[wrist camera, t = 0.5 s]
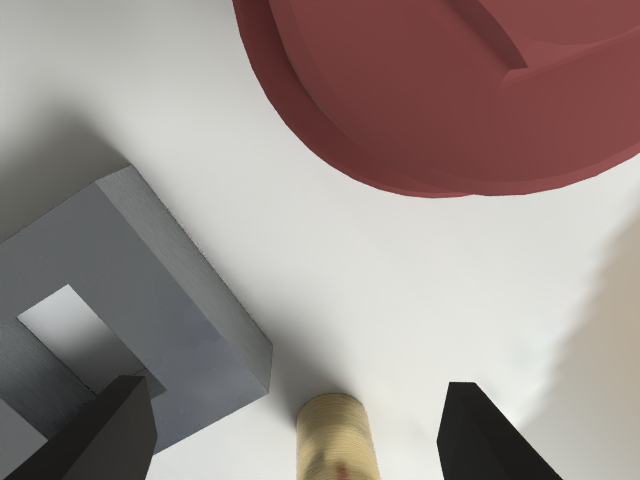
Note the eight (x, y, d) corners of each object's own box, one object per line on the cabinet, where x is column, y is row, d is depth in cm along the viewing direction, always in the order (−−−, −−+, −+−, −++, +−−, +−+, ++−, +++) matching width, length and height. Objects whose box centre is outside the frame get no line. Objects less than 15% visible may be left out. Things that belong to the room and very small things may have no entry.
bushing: (320, 459, 24) (328, 599, 17) (282, 414, 23) (276, 546, 16) (380, 429, 23) (412, 562, 17) (345, 381, 22) (365, 504, 16)
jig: (78, 454, 23) (41, 515, 20) (-85, 308, 19) (-163, 353, 16) (273, 346, 21) (268, 393, 18) (132, 164, 18) (94, 181, 14)
